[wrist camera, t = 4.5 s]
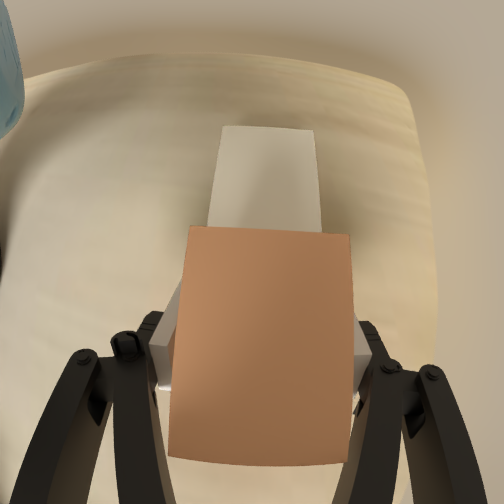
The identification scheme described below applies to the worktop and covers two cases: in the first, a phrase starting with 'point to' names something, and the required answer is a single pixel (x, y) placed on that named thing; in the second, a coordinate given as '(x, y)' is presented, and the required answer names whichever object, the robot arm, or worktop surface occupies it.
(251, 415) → the brown box
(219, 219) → the white button box
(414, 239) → the worktop surface
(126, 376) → the robot arm
